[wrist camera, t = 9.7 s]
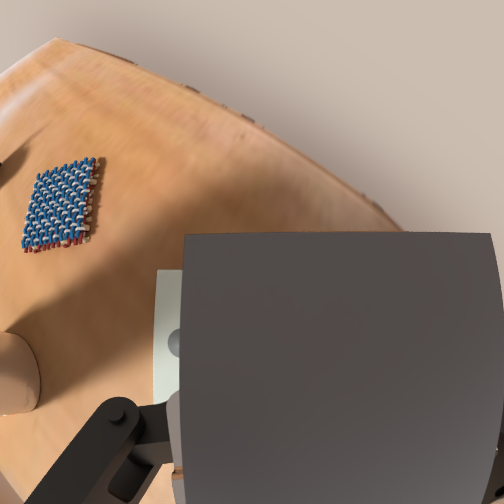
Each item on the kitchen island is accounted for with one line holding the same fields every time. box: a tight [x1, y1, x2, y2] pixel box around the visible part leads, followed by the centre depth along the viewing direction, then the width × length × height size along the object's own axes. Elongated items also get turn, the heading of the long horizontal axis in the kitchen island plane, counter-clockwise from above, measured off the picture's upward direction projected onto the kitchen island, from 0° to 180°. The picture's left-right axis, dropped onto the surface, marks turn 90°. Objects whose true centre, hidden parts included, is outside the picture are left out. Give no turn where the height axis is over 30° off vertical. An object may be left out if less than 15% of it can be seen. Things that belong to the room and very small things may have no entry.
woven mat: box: [21, 157, 100, 253], centre depth 26 cm, size 10×11×2 cm
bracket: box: [153, 270, 182, 404], centre depth 20 cm, size 20×12×4 cm, turn 90°
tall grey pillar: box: [179, 231, 504, 504], centre depth 9 cm, size 4×5×14 cm
